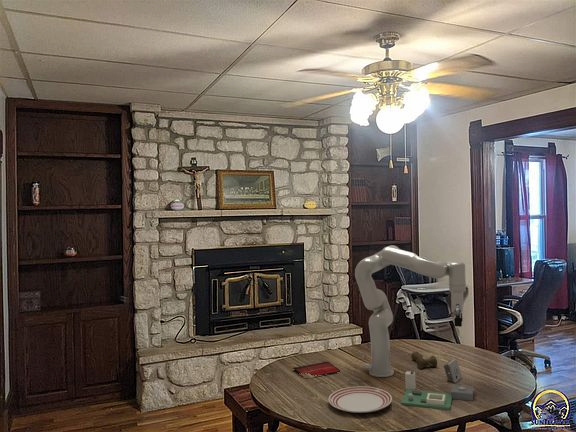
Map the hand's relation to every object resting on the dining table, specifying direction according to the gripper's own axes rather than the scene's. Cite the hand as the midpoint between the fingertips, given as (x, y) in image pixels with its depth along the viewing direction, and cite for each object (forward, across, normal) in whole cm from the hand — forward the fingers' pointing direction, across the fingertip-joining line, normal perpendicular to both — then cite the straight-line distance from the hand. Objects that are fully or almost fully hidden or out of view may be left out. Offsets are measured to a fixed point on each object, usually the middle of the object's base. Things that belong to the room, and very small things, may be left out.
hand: (458, 323), depth 233 cm
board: (+28, +25, -13) cm, 40 cm away
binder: (+30, 0, -72) cm, 77 cm away
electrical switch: (+28, -4, -3) cm, 29 cm away
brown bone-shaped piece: (+29, -22, -19) cm, 41 cm away
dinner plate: (+29, +37, -40) cm, 62 cm away
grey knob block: (+28, +16, +1) cm, 33 cm away
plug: (+28, +12, -22) cm, 38 cm away
